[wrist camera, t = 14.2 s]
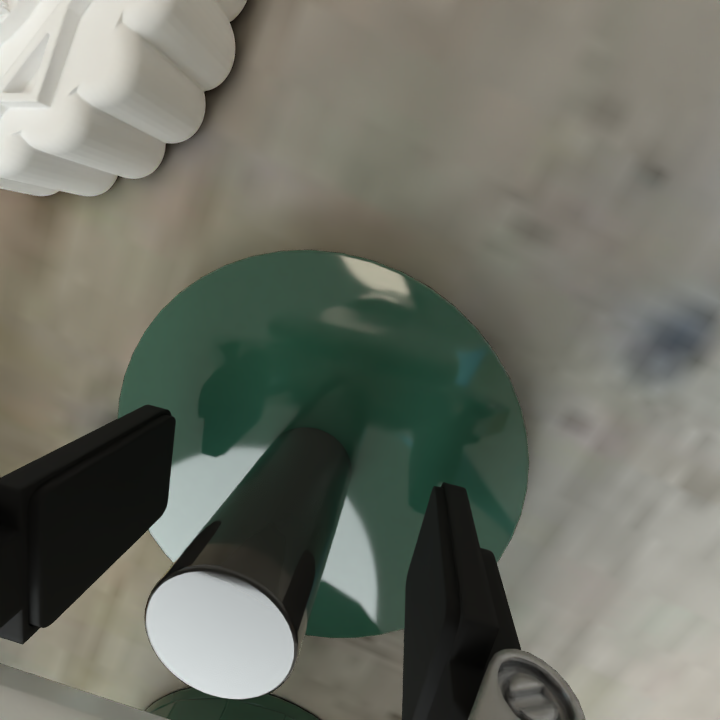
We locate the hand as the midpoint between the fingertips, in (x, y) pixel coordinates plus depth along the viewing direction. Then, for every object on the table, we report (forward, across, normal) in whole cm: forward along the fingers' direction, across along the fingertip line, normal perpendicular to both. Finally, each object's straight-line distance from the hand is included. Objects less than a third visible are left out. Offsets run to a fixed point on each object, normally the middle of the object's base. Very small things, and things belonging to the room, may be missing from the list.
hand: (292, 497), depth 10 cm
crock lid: (+2, 0, 0) cm, 2 cm away
